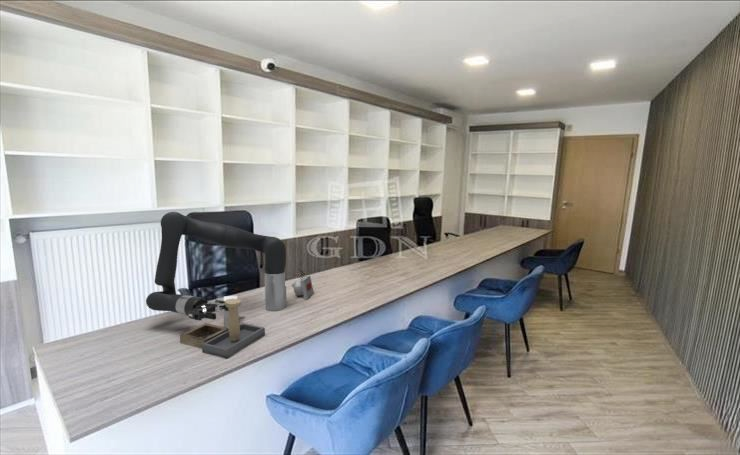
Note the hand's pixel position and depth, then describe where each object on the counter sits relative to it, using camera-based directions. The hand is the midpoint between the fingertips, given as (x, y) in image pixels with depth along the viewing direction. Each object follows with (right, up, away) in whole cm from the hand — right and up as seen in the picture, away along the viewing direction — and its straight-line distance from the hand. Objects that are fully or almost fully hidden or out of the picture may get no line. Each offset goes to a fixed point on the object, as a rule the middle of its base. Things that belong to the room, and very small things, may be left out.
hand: (224, 312), depth 132 cm
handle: (+4, -10, 0) cm, 11 cm away
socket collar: (-8, -11, +3) cm, 14 cm away
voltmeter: (+18, -3, +60) cm, 63 cm away
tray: (+4, -11, 0) cm, 12 cm away
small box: (-4, -9, +18) cm, 21 cm away
